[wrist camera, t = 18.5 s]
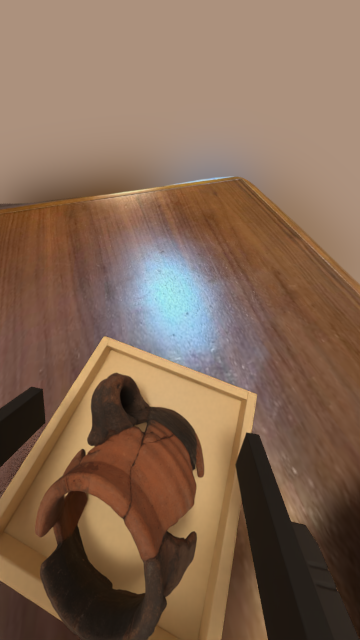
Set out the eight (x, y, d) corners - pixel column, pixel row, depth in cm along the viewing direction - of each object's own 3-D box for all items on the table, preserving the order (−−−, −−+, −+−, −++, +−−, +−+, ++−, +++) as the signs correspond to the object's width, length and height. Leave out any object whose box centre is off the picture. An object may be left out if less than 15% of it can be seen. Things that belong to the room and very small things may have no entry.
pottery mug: (229, 491, 14) (225, 700, 6) (133, 510, 16) (37, 680, 8) (173, 350, 16) (115, 366, 8) (94, 384, 18) (-10, 422, 10)
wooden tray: (-2, 532, 13) (-38, 556, 11) (111, 344, 20) (104, 335, 18) (202, 658, 11) (210, 721, 8) (246, 396, 18) (257, 394, 16)
